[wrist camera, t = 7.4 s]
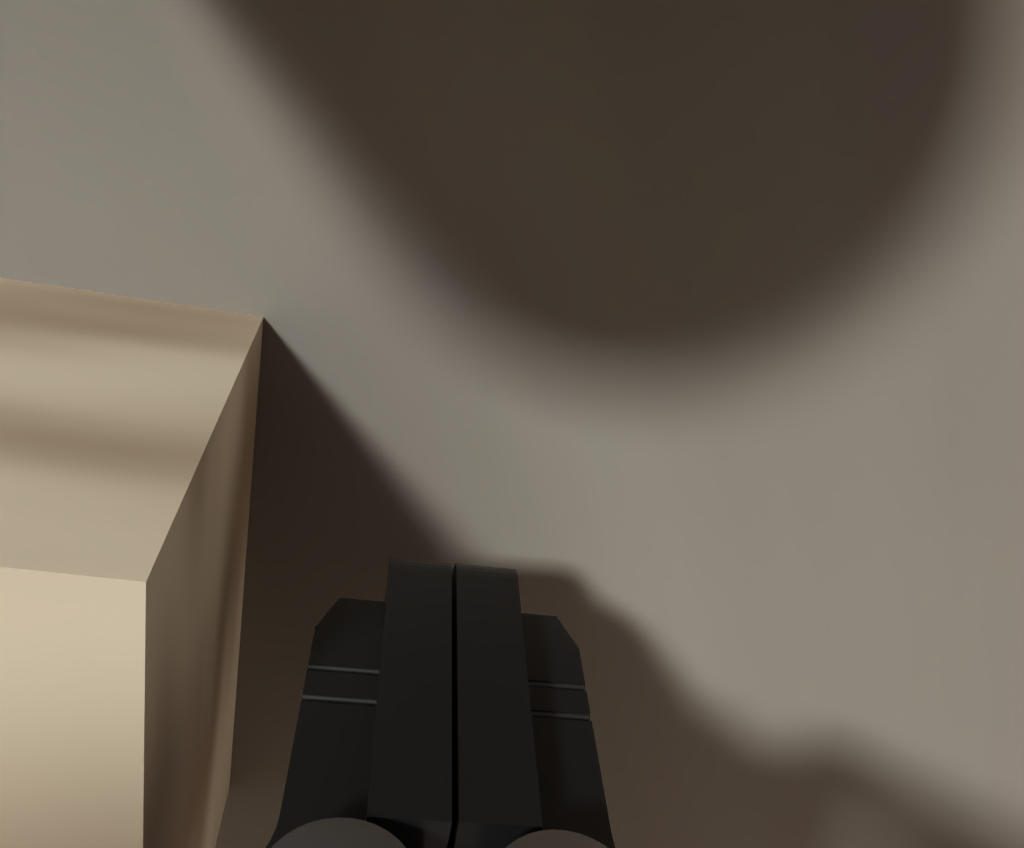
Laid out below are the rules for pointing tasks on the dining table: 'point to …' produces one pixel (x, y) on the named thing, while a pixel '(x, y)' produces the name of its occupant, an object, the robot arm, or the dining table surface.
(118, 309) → the block
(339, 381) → the dining table surface
